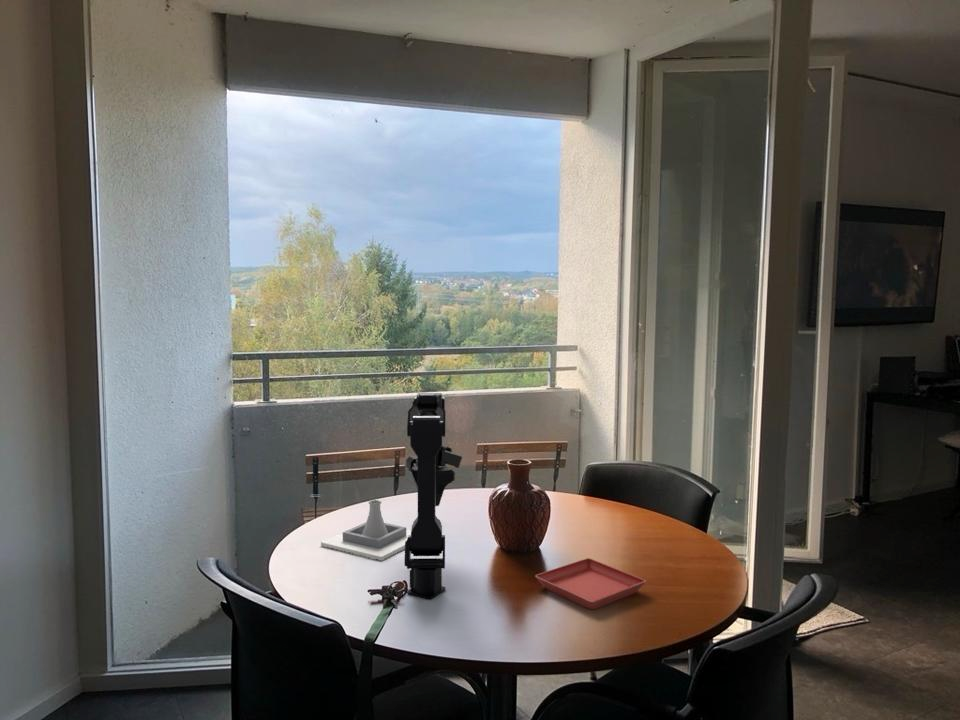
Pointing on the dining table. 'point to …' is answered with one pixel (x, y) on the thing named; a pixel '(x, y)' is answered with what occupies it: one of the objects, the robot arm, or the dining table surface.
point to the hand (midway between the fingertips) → (429, 501)
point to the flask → (375, 521)
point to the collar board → (370, 542)
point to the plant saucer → (590, 583)
